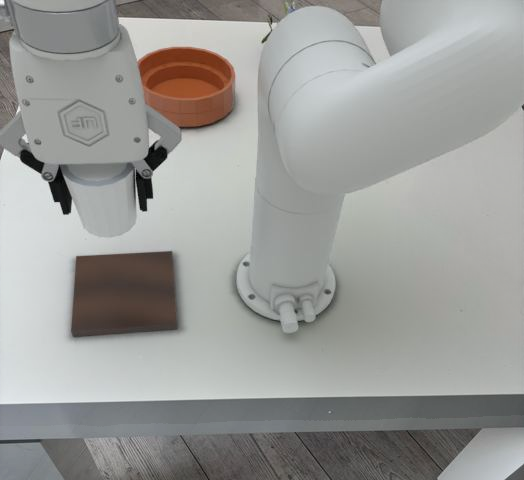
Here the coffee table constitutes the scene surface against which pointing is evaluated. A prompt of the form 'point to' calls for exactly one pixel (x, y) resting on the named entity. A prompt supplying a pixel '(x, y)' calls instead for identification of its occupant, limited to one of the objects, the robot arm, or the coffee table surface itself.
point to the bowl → (188, 85)
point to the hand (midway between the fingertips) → (106, 202)
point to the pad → (124, 294)
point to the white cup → (103, 196)
